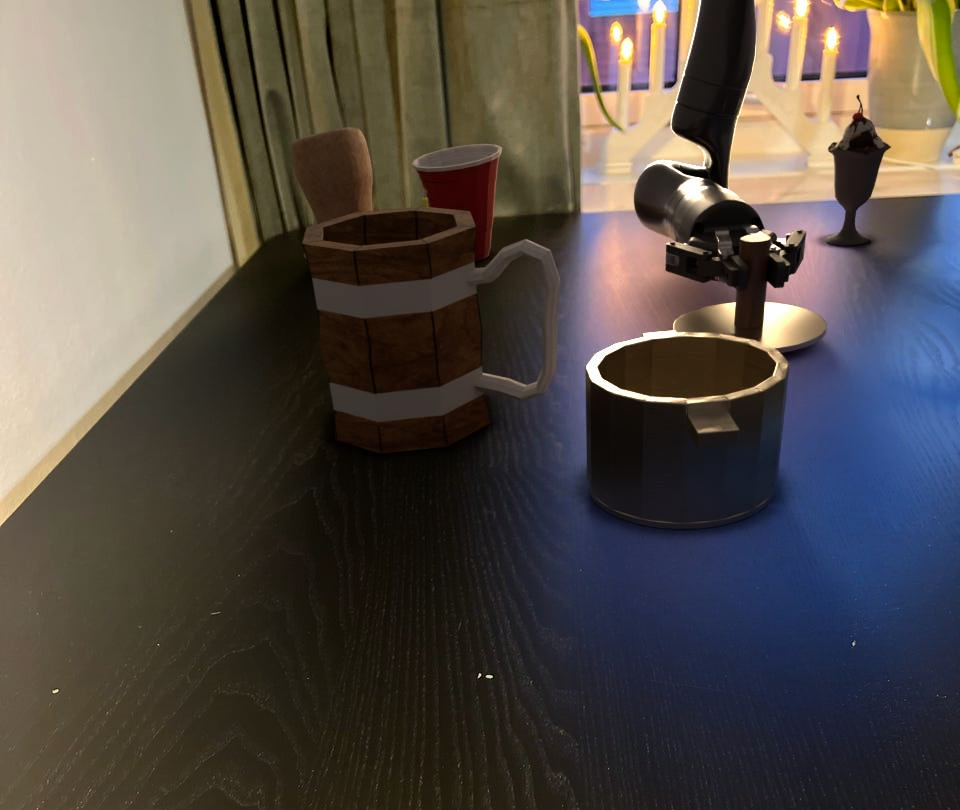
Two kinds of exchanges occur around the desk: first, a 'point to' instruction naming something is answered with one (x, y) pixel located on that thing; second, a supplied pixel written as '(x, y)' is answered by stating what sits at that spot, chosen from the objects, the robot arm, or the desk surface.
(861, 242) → the sundae
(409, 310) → the mug
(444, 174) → the plastic cup
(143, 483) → the desk surface
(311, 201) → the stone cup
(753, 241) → the lid
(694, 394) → the pot
